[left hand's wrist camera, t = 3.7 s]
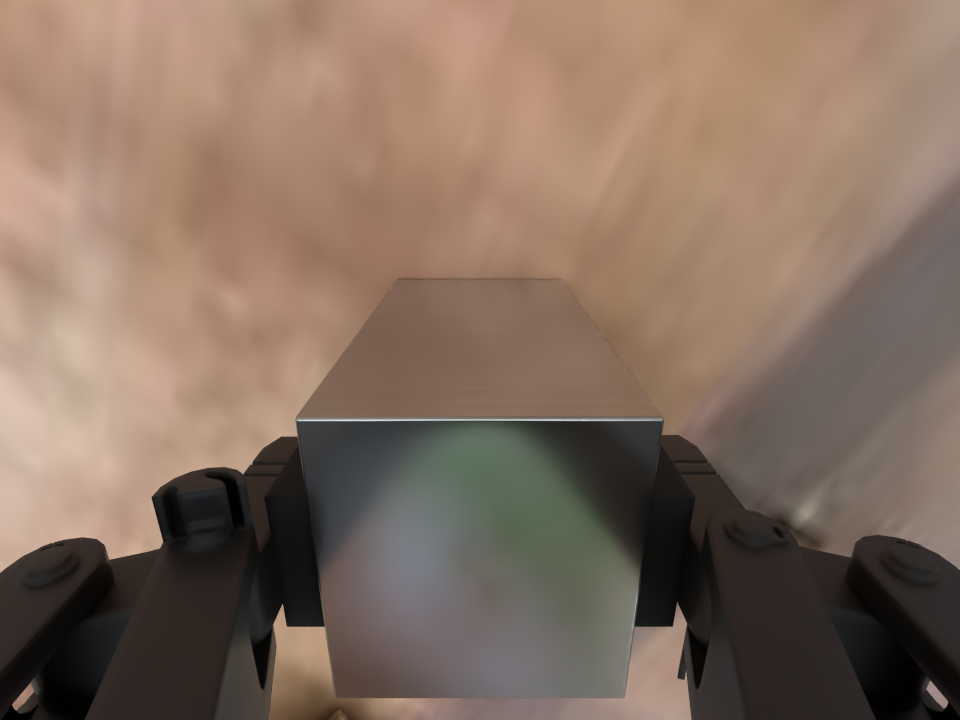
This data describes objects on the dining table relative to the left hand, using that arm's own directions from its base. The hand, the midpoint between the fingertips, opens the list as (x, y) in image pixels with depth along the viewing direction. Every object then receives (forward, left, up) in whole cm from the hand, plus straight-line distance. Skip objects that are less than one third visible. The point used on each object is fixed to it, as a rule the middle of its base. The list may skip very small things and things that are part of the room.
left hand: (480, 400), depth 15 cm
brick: (0, 0, -3) cm, 3 cm away
